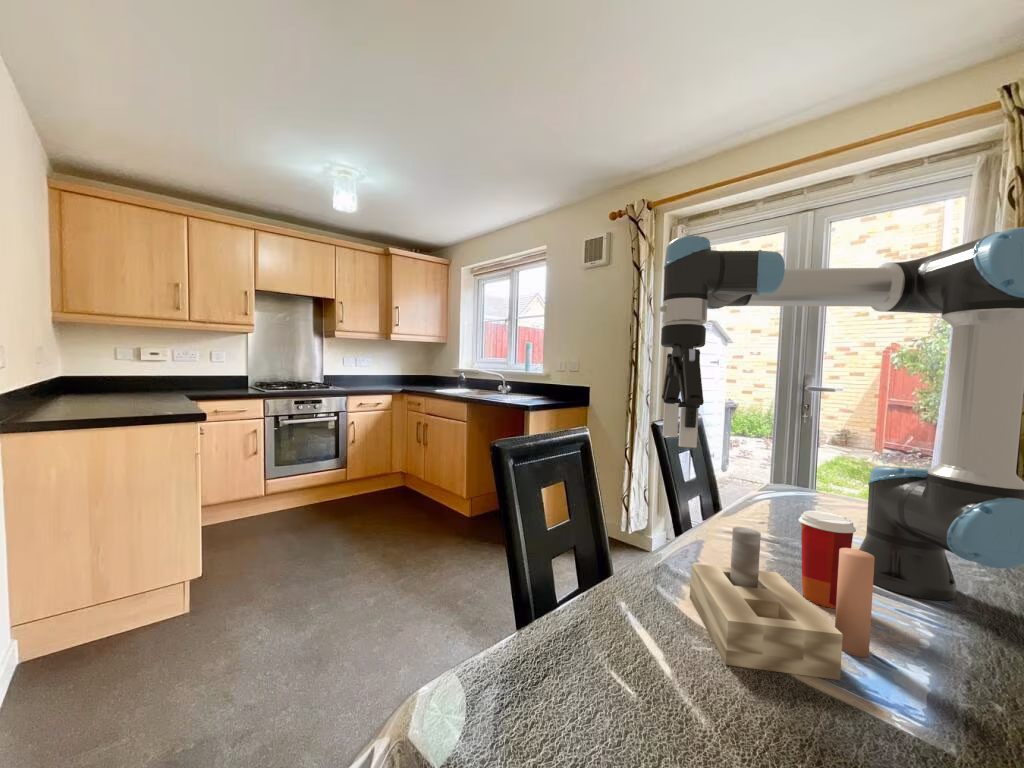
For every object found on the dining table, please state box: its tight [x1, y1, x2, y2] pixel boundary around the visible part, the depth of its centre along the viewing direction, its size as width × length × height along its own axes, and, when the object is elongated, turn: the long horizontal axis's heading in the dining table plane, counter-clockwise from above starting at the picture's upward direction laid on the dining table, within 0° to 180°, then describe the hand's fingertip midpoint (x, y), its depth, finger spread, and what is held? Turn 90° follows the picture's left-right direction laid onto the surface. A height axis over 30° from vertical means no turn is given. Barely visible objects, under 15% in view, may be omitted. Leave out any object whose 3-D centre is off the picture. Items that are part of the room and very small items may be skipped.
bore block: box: [689, 526, 843, 681], centre depth 65 cm, size 14×18×14 cm
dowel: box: [834, 547, 875, 658], centre depth 62 cm, size 4×4×14 cm
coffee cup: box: [798, 510, 857, 609], centre depth 76 cm, size 8×8×15 cm
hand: (678, 441), depth 78 cm, fingers open, 13 cm apart
